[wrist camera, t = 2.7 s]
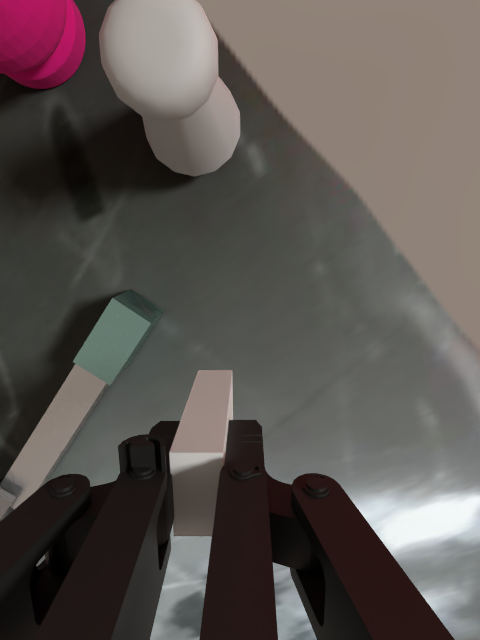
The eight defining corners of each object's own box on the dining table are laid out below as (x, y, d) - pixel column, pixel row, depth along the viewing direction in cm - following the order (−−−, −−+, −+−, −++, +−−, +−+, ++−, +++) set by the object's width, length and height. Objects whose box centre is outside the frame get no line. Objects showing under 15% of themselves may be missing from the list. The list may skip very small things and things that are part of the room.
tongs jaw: (19, 531, 32) (-12, 571, 28) (-19, 510, 32) (-56, 548, 28) (164, 311, 28) (151, 323, 24) (122, 283, 28) (102, 291, 24)
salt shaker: (167, 190, 27) (97, 150, 14) (143, 101, 26) (42, -30, 13) (250, 168, 26) (254, 106, 14) (229, 76, 25) (213, -83, 13)
